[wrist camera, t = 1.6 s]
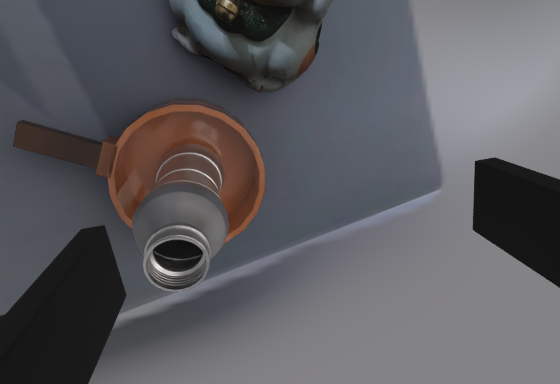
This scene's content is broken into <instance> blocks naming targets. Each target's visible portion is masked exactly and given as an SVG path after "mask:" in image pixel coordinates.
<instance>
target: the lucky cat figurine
mask: <svg viewBox="0 0 560 384" xmlns="http://www.w3.org/2000/svg"><path fill="white" fill-rule="evenodd" d="M332 1H333V0H169V4H170V6H171V9H172V11H173V13H174V14H175V16H176V18H177V19H178V22H179V25H178V26H177V27H176V28H175V29H173V30H172V34H173V37H174V38H175V39H177V40H178V41H179V42H180V43H181V45H183V46H184V47H185V48H186V49H187V50H189V51H190V52H192V53H194V54H198V55H201V56H205V57H207V58H209V59H211V60H213V61H215V62H217V63H219V64H221V65H222V66H223V67H224V68H226V69H227V70H228V71H230V72H231V73H232V74H234V75H235V76H236V77H238V78H239V79H240V80H241V81H242V82H243V83H245V84H246V85H247V86H248V87H250V88H252V89H253V90H255V91H257V92H270V91H276V90H278V89H280V88H282V87H284V86H286V85H288V84H289V83H291V82H292V81H294V80H295V79H296V78H298V77H299V76H300V75H301V74H302V73H303V72H305V71H306V70H307V68H308V67H309V66H310V64H311V63H312V62H313V60H314V58H315V56H316V54H317V51H318V48H319V41H318V39H319V36H320V32H321V27H322V19H323V18H324V16H325V14H326V12H327V10H328V8H329V6H330V4H331V2H332Z"/></svg>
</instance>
